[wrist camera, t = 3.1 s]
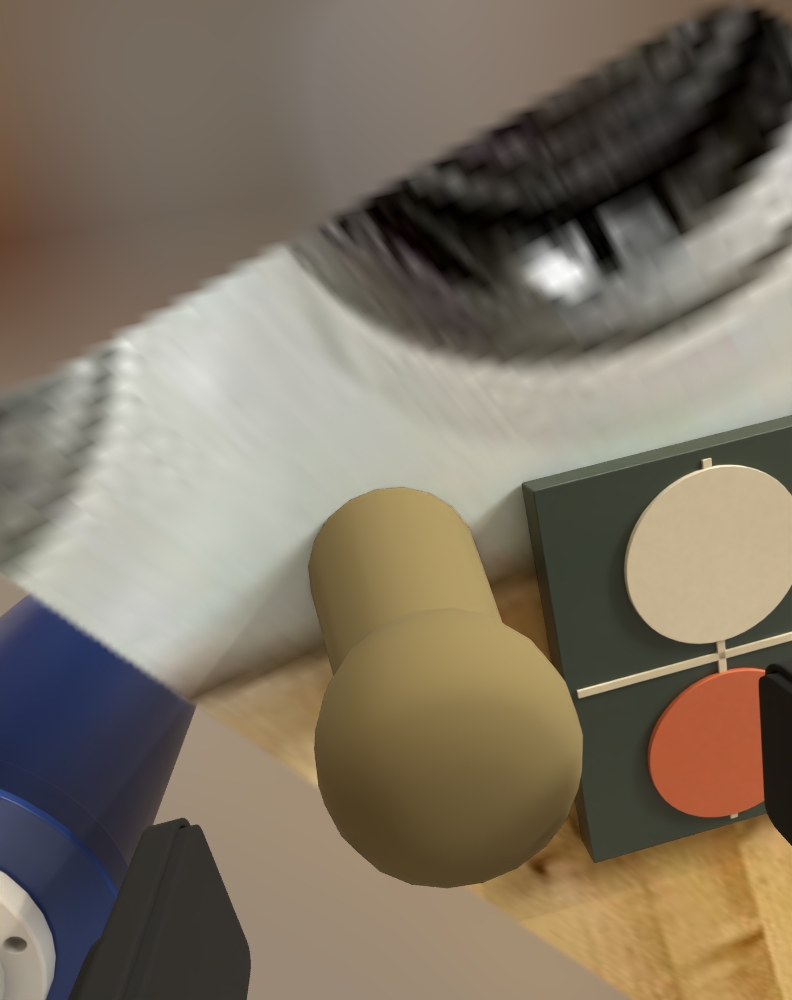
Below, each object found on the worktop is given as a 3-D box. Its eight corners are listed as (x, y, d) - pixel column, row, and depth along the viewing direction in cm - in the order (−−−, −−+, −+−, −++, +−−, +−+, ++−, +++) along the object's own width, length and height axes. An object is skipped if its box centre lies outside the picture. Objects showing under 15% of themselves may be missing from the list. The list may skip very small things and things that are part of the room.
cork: (303, 645, 21) (277, 955, 10) (313, 481, 19) (295, 641, 9) (467, 649, 21) (603, 942, 11) (488, 492, 20) (670, 652, 9)
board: (581, 839, 24) (596, 868, 23) (520, 482, 20) (534, 492, 19) (843, 764, 25) (873, 787, 24) (840, 402, 21) (876, 406, 19)
